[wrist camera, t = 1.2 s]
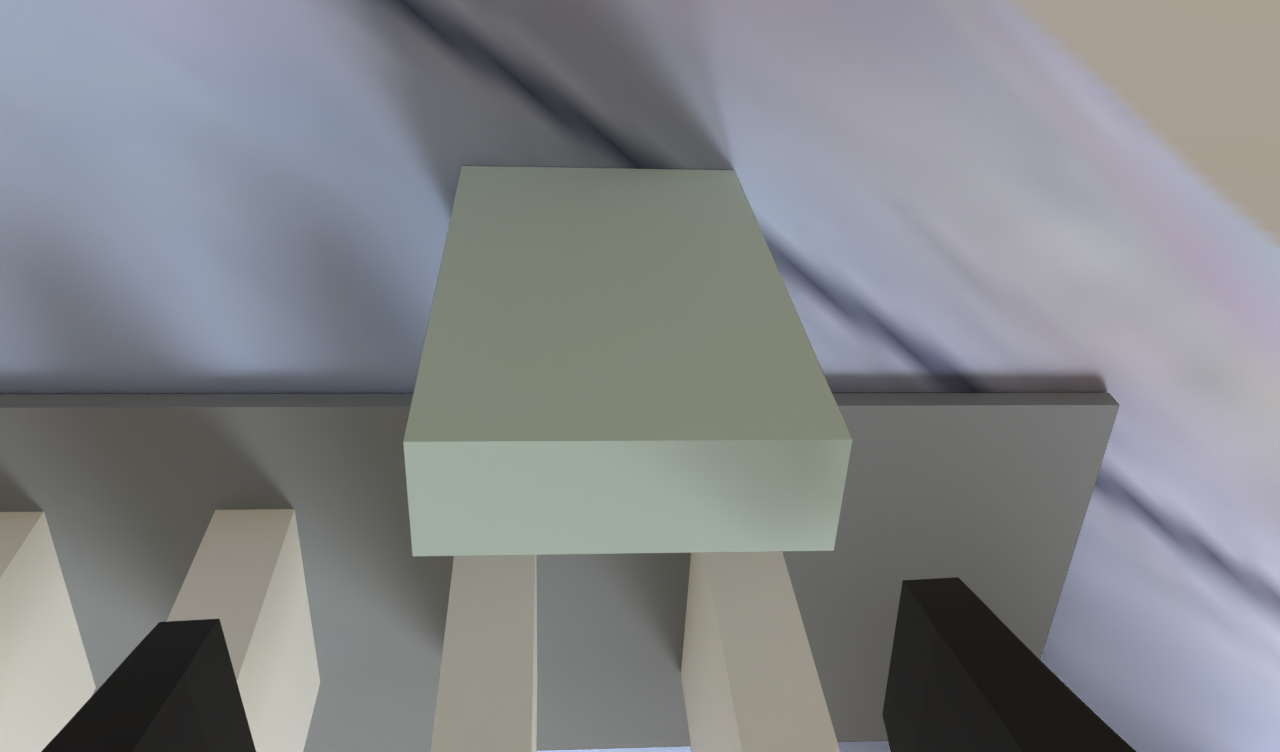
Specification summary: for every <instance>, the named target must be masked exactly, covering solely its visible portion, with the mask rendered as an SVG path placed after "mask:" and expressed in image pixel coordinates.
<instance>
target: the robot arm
mask: <svg viewBox="0 0 1280 752" xmlns="http://www.w3.org/2000/svg"><path fill="white" fill-rule="evenodd" d="M882 716H883V720H884V724H885V728H886V733H887V737H888V741H889V745H890V750H891V752H1136V751H1135V750H1134V749H1133V748H1132V747H1130V746H1129V745H1128V744H1127V743H1126V742H1125V741H1124V740H1123V739H1122V738H1121V737H1119V736H1118V735H1117V734H1116V733H1115V732H1114V731H1113V730H1112V729H1111V728H1110V727H1109V726H1108V725H1107V724H1106V723H1105V722H1104V721H1102V720H1101V719H1100V718H1099V717H1098V716H1097V715H1096V714H1095V713H1094V712H1093V711H1092V710H1091V709H1090V708H1089V707H1088V706H1087V705H1086V704H1085V703H1083V702H1082V701H1081V700H1080V699H1079V698H1078V697H1077V696H1076V695H1075V694H1074V693H1073V692H1072V691H1071V690H1070V689H1069V688H1068V687H1067V686H1066V685H1065V684H1064V683H1063V682H1062V681H1061V680H1060V679H1059V678H1058V677H1057V676H1056V675H1055V674H1054V673H1052V672H1051V671H1050V670H1049V669H1048V668H1047V667H1046V666H1045V664H1044V663H1043V662H1042V661H1041V660H1040V659H1039V658H1038V657H1037V656H1036V655H1035V654H1034V653H1033V652H1032V651H1031V650H1030V649H1029V648H1028V647H1027V646H1026V645H1025V644H1024V643H1023V642H1022V641H1021V640H1020V639H1019V638H1018V637H1017V636H1016V635H1015V634H1014V633H1013V632H1012V631H1011V630H1010V629H1009V628H1008V627H1007V626H1006V625H1005V624H1004V623H1003V622H1002V621H1001V620H1000V619H999V618H998V617H997V616H996V615H995V614H994V613H993V612H992V611H991V610H990V609H989V608H988V607H987V605H986V604H985V603H984V602H983V601H982V600H981V599H980V598H979V597H978V596H977V595H976V594H975V593H974V592H973V591H972V590H971V589H970V588H969V587H968V586H967V585H966V584H965V583H964V582H963V581H962V580H961V579H960V578H959V577H953V578H936V579H918V580H903V581H902V588H901V594H900V601H899V608H898V614H897V621H896V627H895V634H894V641H893V647H892V654H891V660H890V667H889V674H888V680H887V687H886V693H885V700H884V707H883V713H882ZM41 752H256V750H255V746H254V742H253V739H252V735H251V731H250V728H249V724H248V720H247V717H246V713H245V710H244V706H243V702H242V699H241V695H240V691H239V688H238V684H237V681H236V677H235V673H234V670H233V666H232V662H231V659H230V655H229V651H228V648H227V644H226V641H225V637H224V633H223V630H222V626H221V622H220V619H204V620H186V621H168V622H159V623H158V624H157V625H156V626H155V627H154V628H153V629H152V630H151V631H150V633H149V634H148V635H147V636H146V637H145V638H144V639H143V640H142V641H141V642H140V643H139V644H138V645H137V647H136V648H135V649H134V650H133V651H132V652H131V653H130V654H129V655H128V656H127V658H126V659H125V660H124V661H123V662H122V663H121V664H120V665H119V666H118V668H117V669H116V670H115V671H114V672H113V673H112V674H111V675H110V676H109V678H108V679H107V680H106V681H105V682H104V683H103V684H102V685H101V687H100V688H99V689H98V690H97V691H96V692H95V693H94V694H93V695H92V697H91V698H90V699H89V700H88V701H87V702H86V703H85V704H84V705H83V706H82V708H81V709H80V710H79V711H78V712H77V713H76V714H75V715H74V716H73V718H72V719H71V720H70V721H69V722H68V723H67V724H66V725H65V726H64V727H63V729H62V730H61V731H60V732H59V733H58V734H57V735H56V736H55V737H54V738H53V739H52V740H51V741H50V743H49V744H48V745H47V746H46V747H45V748H44V749H43V750H42V751H41Z"/></svg>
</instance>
